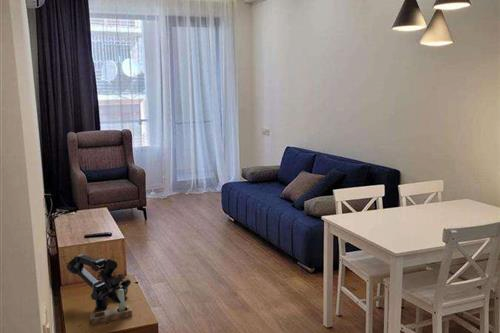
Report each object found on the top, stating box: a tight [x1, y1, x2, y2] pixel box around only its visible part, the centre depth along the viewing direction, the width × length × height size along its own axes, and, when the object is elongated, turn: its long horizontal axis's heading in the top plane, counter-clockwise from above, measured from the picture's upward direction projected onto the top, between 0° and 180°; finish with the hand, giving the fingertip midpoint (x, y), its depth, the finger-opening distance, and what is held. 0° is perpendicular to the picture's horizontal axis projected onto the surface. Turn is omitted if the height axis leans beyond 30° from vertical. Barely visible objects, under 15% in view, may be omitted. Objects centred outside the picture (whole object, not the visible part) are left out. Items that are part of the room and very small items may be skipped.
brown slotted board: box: [90, 304, 133, 325], centre depth 250 cm, size 21×7×3 cm, turn 111°
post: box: [117, 289, 126, 312], centre depth 251 cm, size 4×4×13 cm
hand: (122, 301), depth 250 cm, fingers closed on post, 3 cm apart
